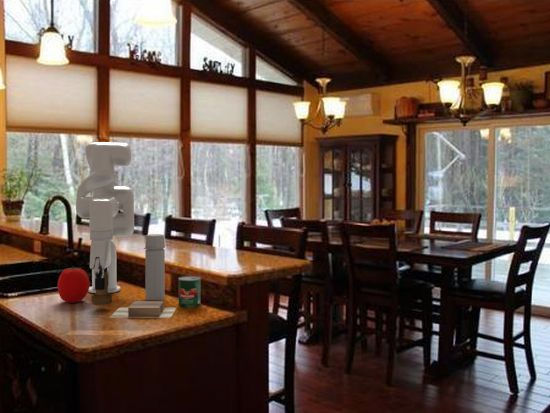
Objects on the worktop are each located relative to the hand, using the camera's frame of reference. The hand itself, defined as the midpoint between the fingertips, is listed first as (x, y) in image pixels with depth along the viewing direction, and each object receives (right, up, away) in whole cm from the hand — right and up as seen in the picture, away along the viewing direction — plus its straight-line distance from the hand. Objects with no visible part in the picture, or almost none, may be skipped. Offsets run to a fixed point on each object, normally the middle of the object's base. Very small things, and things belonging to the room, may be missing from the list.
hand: (101, 287), depth 193 cm
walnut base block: (+16, -8, -4) cm, 18 cm away
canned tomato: (+29, -9, +9) cm, 31 cm away
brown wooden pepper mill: (0, -5, +1) cm, 6 cm away
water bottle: (+13, -8, +20) cm, 26 cm away
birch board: (+15, -9, -3) cm, 18 cm away
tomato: (-15, -8, +16) cm, 24 cm away
